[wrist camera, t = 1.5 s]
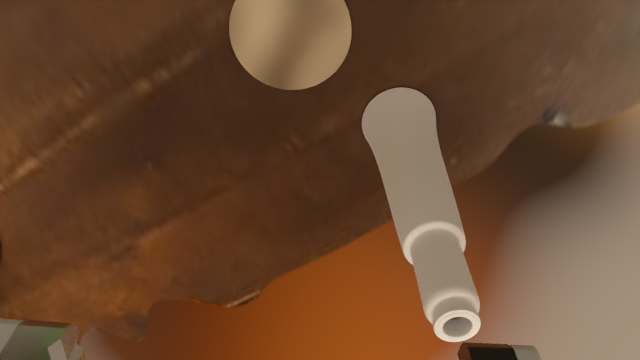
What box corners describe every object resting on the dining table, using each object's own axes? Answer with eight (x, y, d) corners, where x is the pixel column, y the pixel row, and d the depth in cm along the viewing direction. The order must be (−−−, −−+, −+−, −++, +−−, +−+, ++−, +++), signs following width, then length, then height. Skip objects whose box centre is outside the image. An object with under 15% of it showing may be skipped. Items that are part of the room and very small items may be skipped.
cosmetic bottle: (391, 72, 42) (450, 260, 23) (450, 111, 43) (550, 314, 25) (347, 130, 44) (368, 340, 26) (404, 164, 46) (463, 383, 28)
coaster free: (232, 84, 42) (231, 87, 42) (227, -37, 37) (226, -36, 37) (346, 89, 42) (346, 92, 42) (356, -30, 38) (357, -28, 37)
